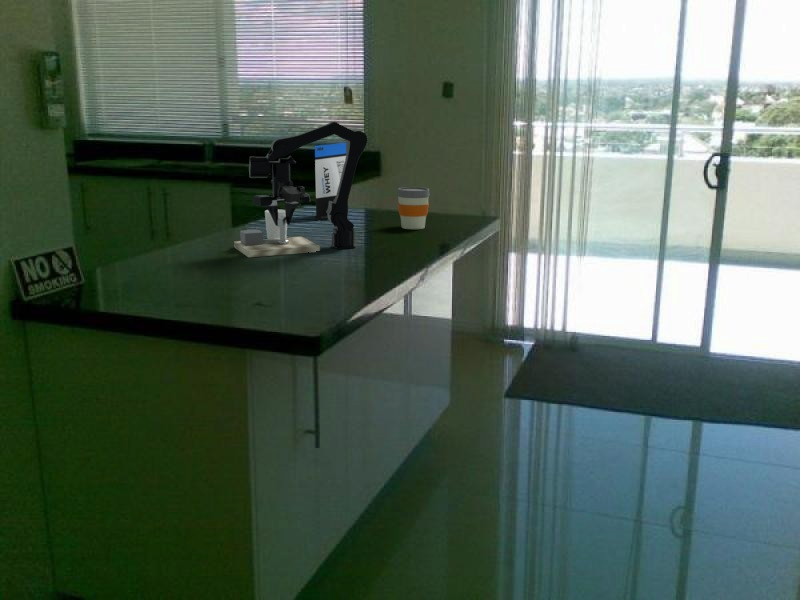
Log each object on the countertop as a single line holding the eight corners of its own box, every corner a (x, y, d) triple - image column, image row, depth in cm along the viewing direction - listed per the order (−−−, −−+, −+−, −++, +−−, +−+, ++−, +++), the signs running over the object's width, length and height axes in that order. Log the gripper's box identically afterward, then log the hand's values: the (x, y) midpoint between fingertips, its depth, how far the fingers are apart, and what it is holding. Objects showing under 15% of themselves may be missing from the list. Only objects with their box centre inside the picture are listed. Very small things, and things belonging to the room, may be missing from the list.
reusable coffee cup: (435, 226, 313) (435, 188, 309) (418, 231, 302) (419, 191, 299) (407, 223, 319) (408, 186, 315) (390, 227, 309) (391, 189, 305)
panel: (302, 242, 278) (301, 236, 278) (319, 251, 263) (319, 245, 262) (234, 247, 268) (233, 241, 268) (248, 257, 253) (248, 251, 252)
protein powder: (356, 214, 342) (356, 143, 334) (326, 221, 321) (325, 146, 313) (337, 212, 346) (336, 142, 338) (306, 220, 325) (304, 145, 318)
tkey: (265, 240, 269) (264, 215, 267) (291, 240, 269) (290, 215, 267) (260, 244, 261) (259, 219, 259) (286, 245, 261) (286, 219, 259)
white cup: (261, 239, 282) (260, 211, 280) (273, 236, 290) (272, 208, 287) (280, 241, 280) (280, 213, 277) (292, 237, 287) (291, 210, 284)
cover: (258, 241, 269) (257, 229, 268) (263, 244, 264) (262, 232, 262) (240, 242, 266) (240, 230, 265) (245, 245, 261) (244, 233, 260)
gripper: (269, 181, 248) (270, 231, 252) (319, 178, 259) (319, 225, 263) (251, 178, 256) (252, 226, 260) (300, 175, 267) (301, 221, 271)
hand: (282, 225), depth 263 cm, fingers closed on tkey, 4 cm apart
